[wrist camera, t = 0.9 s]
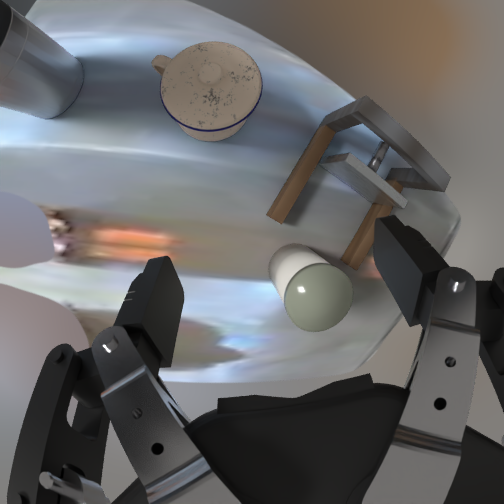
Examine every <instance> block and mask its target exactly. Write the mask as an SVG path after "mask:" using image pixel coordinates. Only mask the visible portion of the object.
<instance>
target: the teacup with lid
mask: <svg viewBox="0 0 504 504" xmlns="http://www.w3.org/2000/svg"><path fill="white" fill-rule="evenodd" d="M152 66H153V68H154V69H155V70H156V71H157V72H158V73H159V74H160V75H161V76H162V79H161V83H160V95H161V100H162V103H163V105H164V108H165V109H166V111H167V112H168V114H169V115H170V116H171V117H172V118H173V119H174V120H175V121H176V122H177V123H178V124H179V126H180V127H181V128H182V130H183V131H184V132H186V133H187V134H188V135H189V136H191V137H193V138H195V139H198V140H202V141H219V140H223V139H226V138H228V137H230V136H232V135H233V134H235V133H236V132H237V131H238V130H240V128H241V127H242V126H243V125H244V123H245V121H246V120H247V118H248V116H249V115H250V114H251V113H252V112H253V111H254V109H255V108H256V106H257V104H258V102H259V100H260V97H261V94H262V77H261V73H260V70H259V68H258V66H257V64H256V63H255V61H254V60H253V59H252V58H251V57H250V56H249V55H248V54H247V53H246V52H245V51H243V50H242V49H240V48H238V47H236V46H234V45H231V44H228V43H223V42H204V43H199V44H196V45H193V46H190V47H188V48H186V49H185V50H183V51H181V52H180V53H179V54H177V55H176V56H175V57H174V58H173V59H171V58H169V57H167V56H164V55H157V56H156V57H155V58H154V59H153V60H152Z"/></svg>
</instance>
